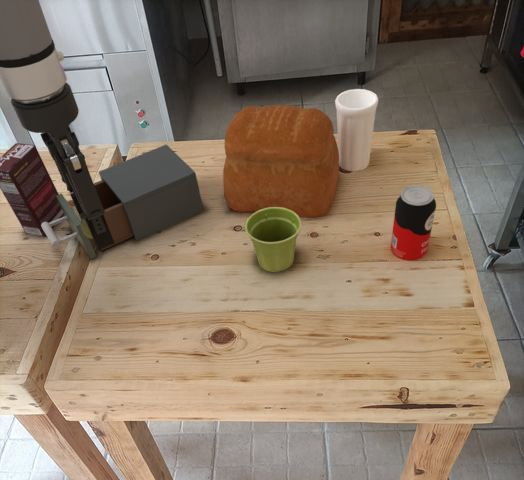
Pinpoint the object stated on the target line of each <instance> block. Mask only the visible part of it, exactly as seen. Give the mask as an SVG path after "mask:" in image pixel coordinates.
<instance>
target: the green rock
mask: <svg viewBox="0 0 524 480" xmlns="http://www.w3.org/2000/svg"><path fill="white" fill-rule="evenodd" d="M79 220H80V224H81V229H82V231H83V233H84V234H85V235H86V236H87V237H88V238H89V239H91V240H94V239H93V237H92V235H91V232H90V230H89V228H88V225H87V223H86V221H85V219H81V218H79Z"/></svg>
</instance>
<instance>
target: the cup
mask: <svg viewBox="0 0 524 480" xmlns="http://www.w3.org/2000/svg"><path fill="white" fill-rule="evenodd" d="M377 95H378V94H376V93H375V92H373V91H371V90H368V89H366V88H365V89H364V88H353V89H347V90H345V91H342V92H341V93H340V94H338V95H337V96H336V98H335V100H334V102H335V103H334V104H335V109H336V131H337V134H336V135H337V147H338V152H339V168H341V169H342V170H345V171H349V172H358V171H359V172H360V171H362V170H364V169H367V167H369V164H370V158H371V151H372V143H373V136H374V135H373V134H374V126H375V119H376V113H377V107H378V104H379V98H378V96H377Z"/></svg>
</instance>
